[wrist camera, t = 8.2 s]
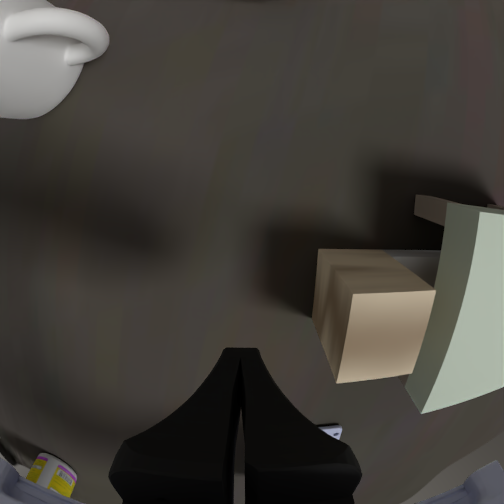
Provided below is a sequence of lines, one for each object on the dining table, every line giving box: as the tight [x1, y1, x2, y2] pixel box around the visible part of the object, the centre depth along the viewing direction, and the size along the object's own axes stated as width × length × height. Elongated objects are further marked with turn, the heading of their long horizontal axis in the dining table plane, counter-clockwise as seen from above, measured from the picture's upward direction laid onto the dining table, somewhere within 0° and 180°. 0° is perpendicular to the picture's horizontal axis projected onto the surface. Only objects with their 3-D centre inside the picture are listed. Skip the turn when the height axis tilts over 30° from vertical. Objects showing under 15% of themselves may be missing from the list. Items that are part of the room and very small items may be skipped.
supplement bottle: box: [26, 453, 77, 498], centre depth 22 cm, size 7×7×13 cm
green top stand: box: [398, 194, 504, 414], centre depth 17 cm, size 13×9×7 cm
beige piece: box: [312, 249, 441, 383], centre depth 17 cm, size 5×20×7 cm, turn 89°
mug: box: [0, 0, 109, 119], centre depth 10 cm, size 12×8×10 cm
